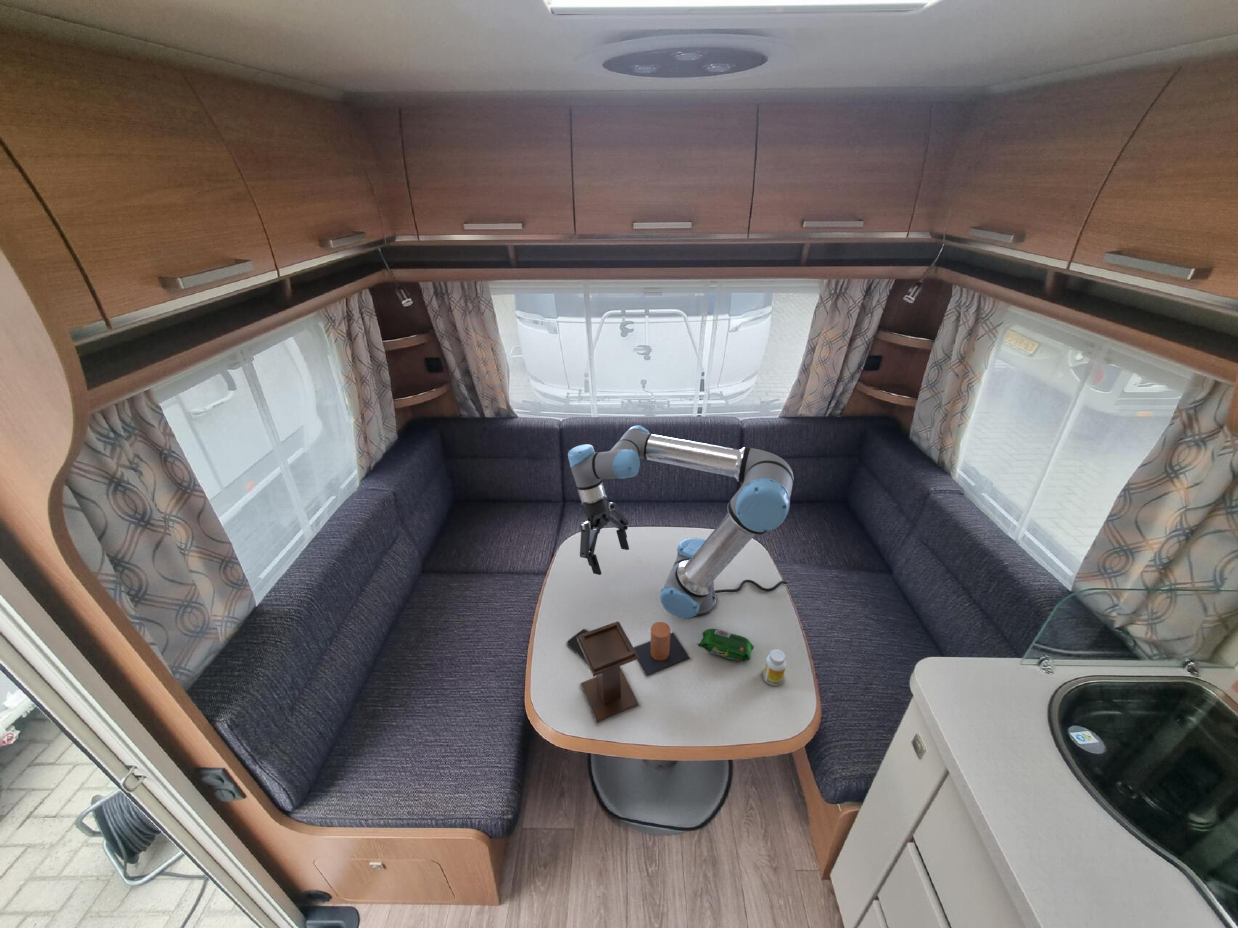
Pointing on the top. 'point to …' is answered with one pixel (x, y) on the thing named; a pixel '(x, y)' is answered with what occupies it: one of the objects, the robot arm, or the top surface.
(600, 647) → the stand
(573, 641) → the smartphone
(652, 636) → the tin
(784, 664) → the supplement bottle
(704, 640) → the snack package
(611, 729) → the top surface
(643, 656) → the mat
